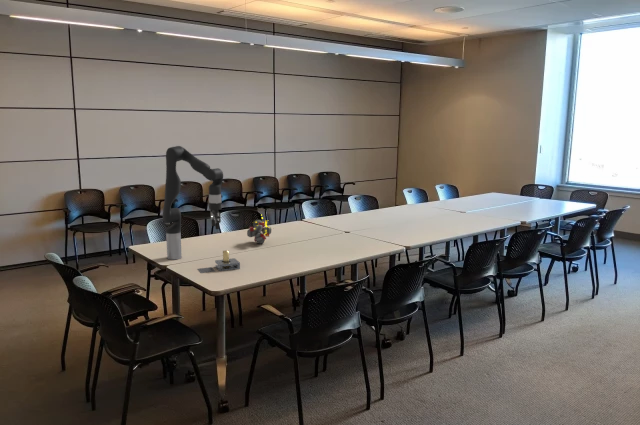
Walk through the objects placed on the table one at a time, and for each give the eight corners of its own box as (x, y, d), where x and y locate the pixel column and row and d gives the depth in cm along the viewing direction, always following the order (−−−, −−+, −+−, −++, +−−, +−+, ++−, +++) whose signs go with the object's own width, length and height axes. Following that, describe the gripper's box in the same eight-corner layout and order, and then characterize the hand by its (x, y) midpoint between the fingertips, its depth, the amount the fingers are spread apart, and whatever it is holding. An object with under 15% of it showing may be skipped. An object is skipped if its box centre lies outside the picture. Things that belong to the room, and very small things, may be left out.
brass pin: (222, 267, 311) (222, 250, 309) (228, 267, 313) (227, 250, 311) (224, 269, 308) (223, 252, 306) (229, 268, 310) (229, 251, 308)
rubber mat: (196, 269, 307) (196, 268, 307) (211, 267, 311) (211, 267, 311) (200, 273, 299) (200, 273, 298) (215, 272, 302) (215, 271, 302)
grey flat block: (215, 267, 313) (215, 260, 312) (234, 264, 318) (234, 258, 317) (219, 271, 303) (219, 264, 302) (240, 269, 308) (239, 262, 308)
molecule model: (276, 246, 365) (276, 216, 361) (247, 248, 360) (247, 217, 356) (271, 239, 389) (271, 210, 385) (244, 240, 384) (243, 211, 380)
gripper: (205, 199, 309) (206, 225, 313) (212, 203, 297) (212, 230, 300) (217, 199, 313) (218, 224, 316) (224, 203, 300) (224, 229, 304)
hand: (215, 227), depth 308 cm, fingers open, 8 cm apart
